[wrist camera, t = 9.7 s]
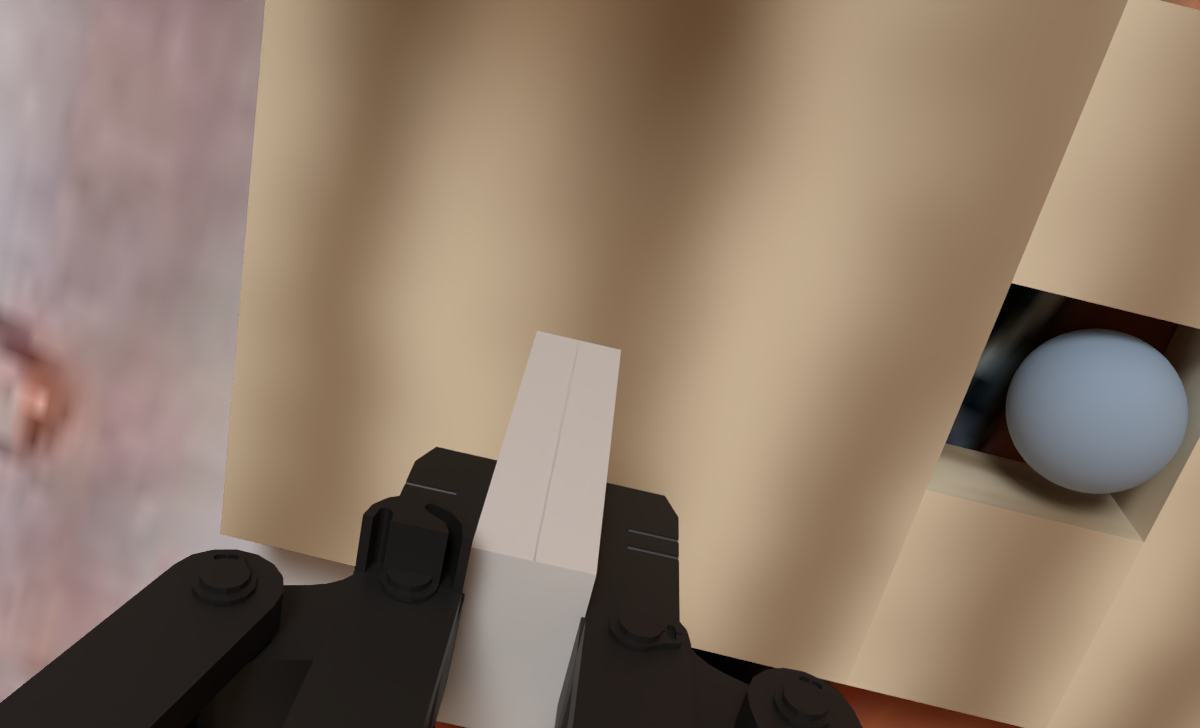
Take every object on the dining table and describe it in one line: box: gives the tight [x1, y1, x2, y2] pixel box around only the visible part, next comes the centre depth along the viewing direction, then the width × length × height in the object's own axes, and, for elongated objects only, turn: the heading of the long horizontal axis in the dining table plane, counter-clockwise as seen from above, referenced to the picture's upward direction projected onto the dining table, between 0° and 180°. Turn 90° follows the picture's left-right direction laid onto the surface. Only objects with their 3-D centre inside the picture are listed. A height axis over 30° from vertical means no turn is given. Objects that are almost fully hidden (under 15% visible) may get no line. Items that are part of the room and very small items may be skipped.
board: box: [220, 0, 1200, 728], centre depth 26 cm, size 28×18×3 cm, turn 77°
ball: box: [1006, 329, 1188, 494], centre depth 25 cm, size 4×4×4 cm
